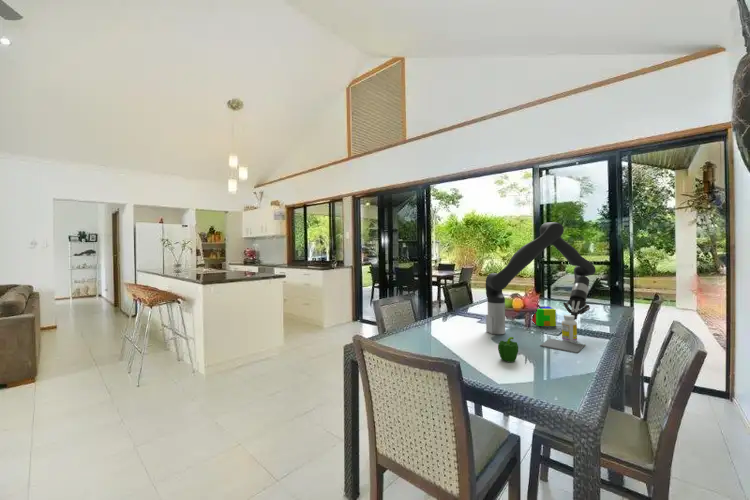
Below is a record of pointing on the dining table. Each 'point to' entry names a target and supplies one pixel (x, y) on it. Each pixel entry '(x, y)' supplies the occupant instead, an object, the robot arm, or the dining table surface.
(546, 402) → the dining table surface
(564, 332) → the supplement bottle
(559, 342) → the mat
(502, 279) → the robot arm
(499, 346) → the bell pepper
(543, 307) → the puzzle toy
